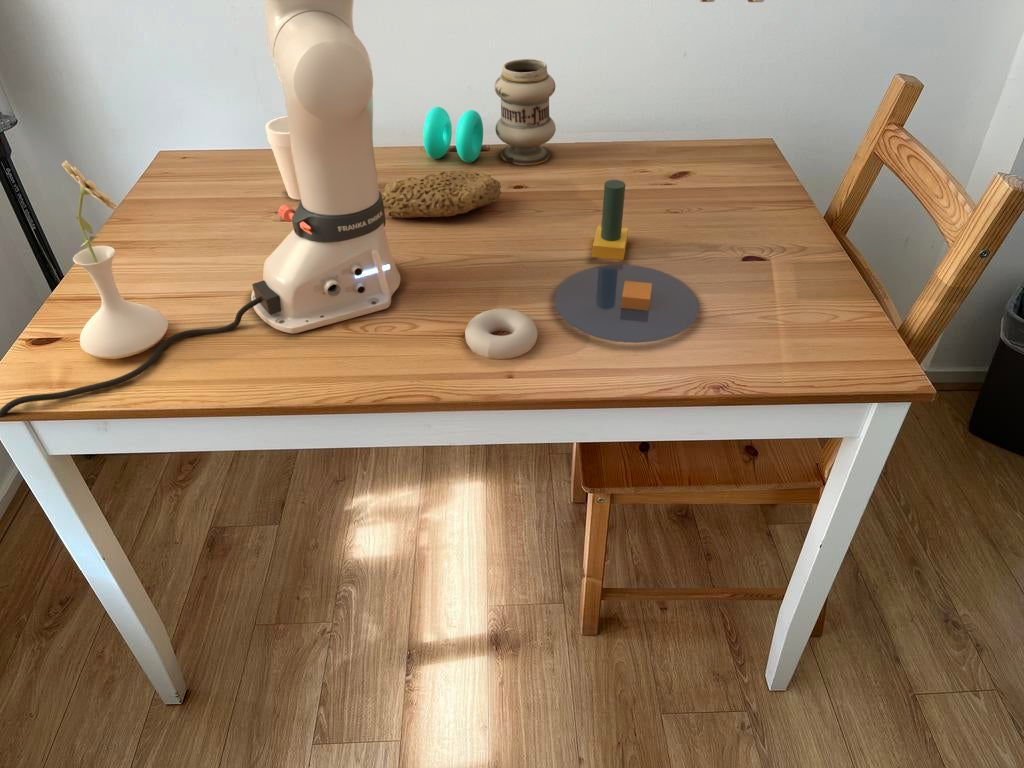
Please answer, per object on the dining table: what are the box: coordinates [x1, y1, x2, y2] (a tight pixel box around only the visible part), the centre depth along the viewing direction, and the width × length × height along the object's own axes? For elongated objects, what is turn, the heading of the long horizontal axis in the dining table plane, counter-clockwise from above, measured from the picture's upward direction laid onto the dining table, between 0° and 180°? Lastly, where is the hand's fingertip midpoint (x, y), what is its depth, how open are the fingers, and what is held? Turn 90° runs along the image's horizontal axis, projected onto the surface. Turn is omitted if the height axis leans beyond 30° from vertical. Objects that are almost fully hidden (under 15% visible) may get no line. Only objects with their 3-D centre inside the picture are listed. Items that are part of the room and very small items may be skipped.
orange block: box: [621, 281, 652, 311], centre depth 112 cm, size 4×4×2 cm
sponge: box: [381, 170, 502, 219], centre depth 136 cm, size 13×8×20 cm
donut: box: [464, 308, 539, 360], centre depth 105 cm, size 10×4×10 cm
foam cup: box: [264, 115, 301, 201], centre depth 141 cm, size 10×9×13 cm
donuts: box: [422, 106, 484, 163], centre depth 154 cm, size 10×10×10 cm
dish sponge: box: [591, 179, 629, 261], centre depth 122 cm, size 7×5×12 cm
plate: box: [553, 264, 700, 344], centre depth 113 cm, size 21×21×1 cm
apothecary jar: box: [494, 58, 557, 166], centre depth 152 cm, size 12×12×18 cm
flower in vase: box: [61, 160, 169, 360], centre depth 100 cm, size 13×11×25 cm
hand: (730, 2), depth 109 cm, fingers open, 8 cm apart
